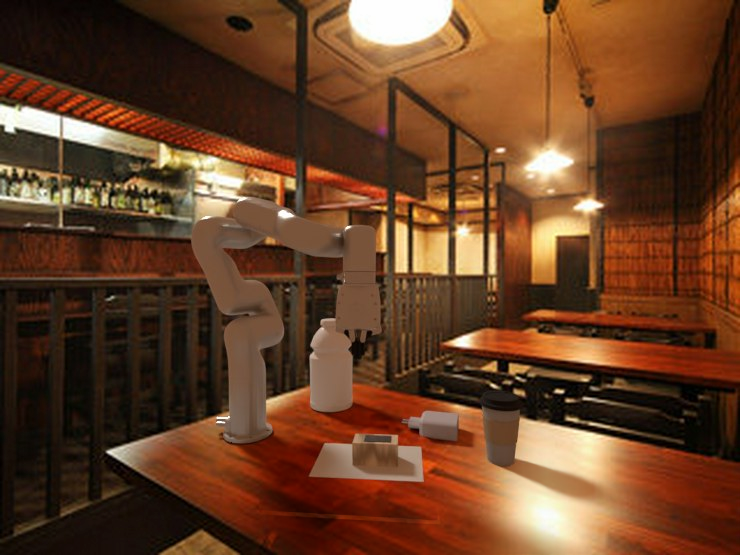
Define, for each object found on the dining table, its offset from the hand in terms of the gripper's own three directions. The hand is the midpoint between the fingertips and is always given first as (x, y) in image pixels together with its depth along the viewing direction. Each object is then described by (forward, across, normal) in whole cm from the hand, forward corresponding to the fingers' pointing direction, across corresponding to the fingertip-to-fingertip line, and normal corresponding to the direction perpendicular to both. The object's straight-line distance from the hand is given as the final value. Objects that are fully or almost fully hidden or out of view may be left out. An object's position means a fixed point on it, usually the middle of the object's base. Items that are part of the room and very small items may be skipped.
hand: (358, 358), depth 92 cm
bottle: (+24, -13, +35) cm, 44 cm away
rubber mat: (+23, +3, -2) cm, 24 cm away
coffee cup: (+23, +33, +2) cm, 40 cm away
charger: (+24, +18, +17) cm, 34 cm away
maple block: (+20, 0, -2) cm, 21 cm away
